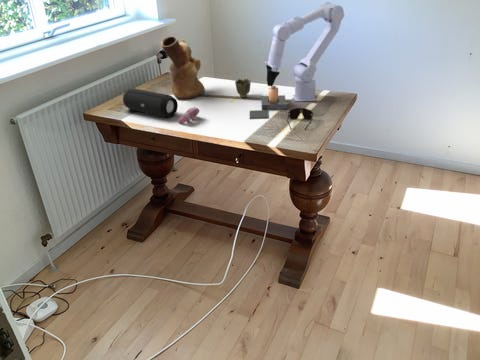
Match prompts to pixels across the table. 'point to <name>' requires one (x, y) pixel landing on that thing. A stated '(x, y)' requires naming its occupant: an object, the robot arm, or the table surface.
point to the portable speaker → (150, 102)
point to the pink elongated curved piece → (189, 115)
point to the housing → (273, 103)
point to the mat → (258, 114)
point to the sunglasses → (296, 112)
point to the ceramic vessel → (183, 69)
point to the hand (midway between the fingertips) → (269, 83)
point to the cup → (243, 87)
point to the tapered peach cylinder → (273, 94)
